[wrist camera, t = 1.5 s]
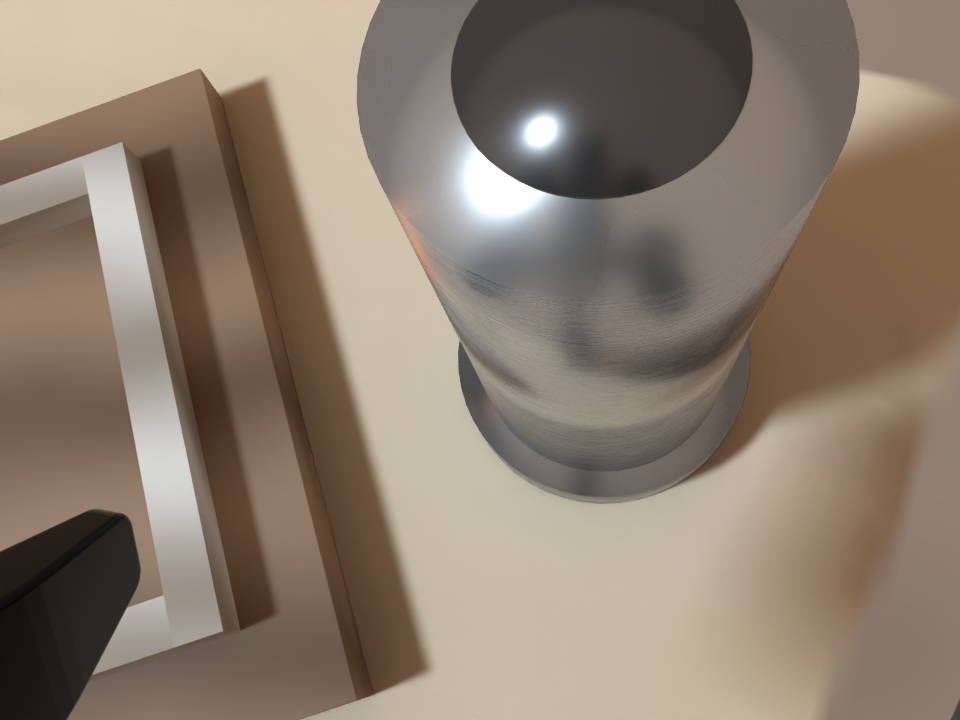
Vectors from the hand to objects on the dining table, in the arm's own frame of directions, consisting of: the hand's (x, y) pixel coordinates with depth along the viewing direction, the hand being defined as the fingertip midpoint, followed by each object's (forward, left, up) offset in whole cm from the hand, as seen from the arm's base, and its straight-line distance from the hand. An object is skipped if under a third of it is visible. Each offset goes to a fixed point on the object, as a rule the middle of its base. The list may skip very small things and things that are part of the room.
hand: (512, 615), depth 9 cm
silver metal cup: (+6, -1, -13) cm, 14 cm away
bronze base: (+3, +16, -12) cm, 21 cm away
